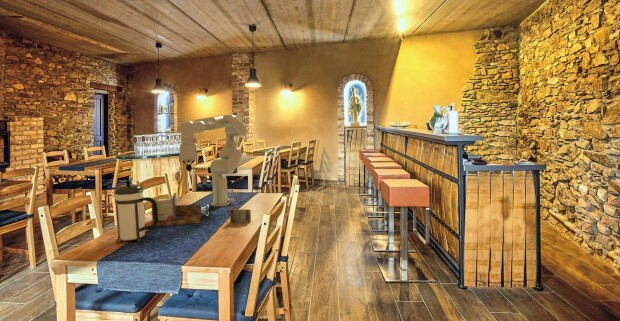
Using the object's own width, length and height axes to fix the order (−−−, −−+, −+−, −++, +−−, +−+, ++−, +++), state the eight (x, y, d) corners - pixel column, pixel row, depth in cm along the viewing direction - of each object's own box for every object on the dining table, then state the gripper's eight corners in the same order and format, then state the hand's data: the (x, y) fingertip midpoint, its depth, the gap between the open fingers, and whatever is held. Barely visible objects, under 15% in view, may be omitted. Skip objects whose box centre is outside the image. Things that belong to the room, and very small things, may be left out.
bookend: (184, 215, 213) (183, 192, 212) (183, 219, 205) (182, 195, 203) (175, 216, 212) (174, 192, 211) (173, 220, 204) (172, 196, 202)
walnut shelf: (201, 215, 219) (200, 196, 218) (199, 222, 204) (198, 202, 202) (157, 218, 213) (156, 199, 212) (152, 226, 198) (151, 205, 196)
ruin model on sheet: (230, 223, 204) (229, 207, 203) (232, 222, 207) (231, 205, 206) (249, 224, 202) (248, 207, 201) (250, 222, 205) (250, 206, 204)
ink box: (175, 217, 210) (174, 198, 208) (173, 220, 205) (172, 199, 203) (159, 218, 208) (158, 198, 207) (157, 220, 203) (156, 200, 202)
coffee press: (123, 247, 165) (118, 184, 161) (110, 240, 175) (105, 180, 172) (159, 238, 178) (156, 179, 174) (145, 231, 188) (142, 175, 185)
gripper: (200, 141, 225) (201, 169, 227) (175, 141, 221) (177, 170, 223) (199, 141, 217) (201, 171, 220) (174, 142, 214) (175, 172, 216)
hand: (189, 171), depth 221 cm, fingers closed
